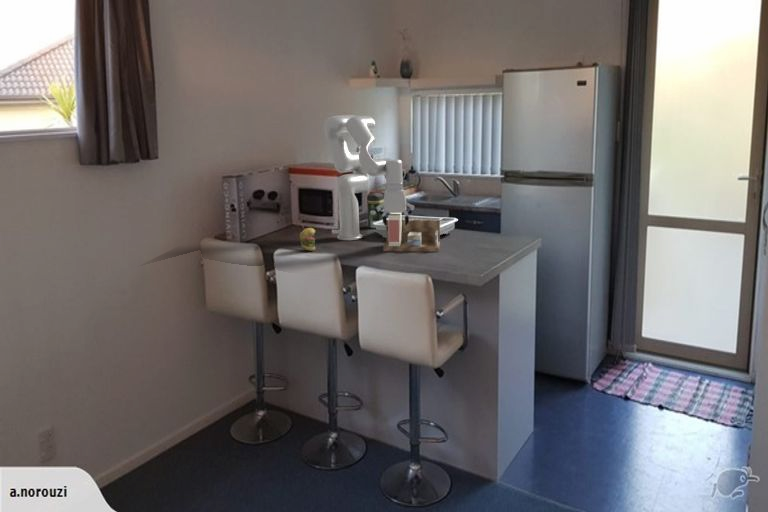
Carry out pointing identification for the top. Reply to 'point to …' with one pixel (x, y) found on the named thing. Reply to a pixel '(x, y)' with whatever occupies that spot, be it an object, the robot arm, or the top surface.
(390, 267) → the top surface
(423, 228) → the shelf
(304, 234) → the hamburger
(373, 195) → the coffee jar
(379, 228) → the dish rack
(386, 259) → the top surface
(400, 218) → the boxed book
